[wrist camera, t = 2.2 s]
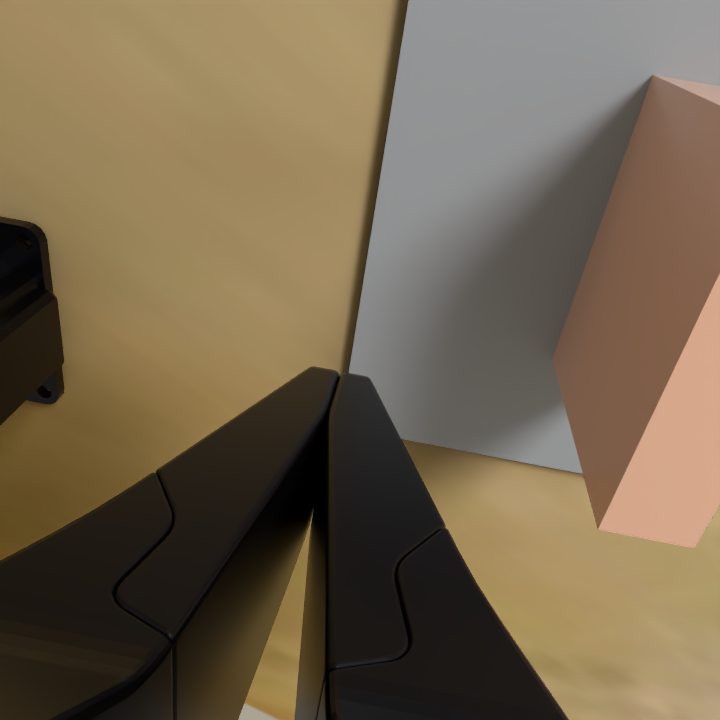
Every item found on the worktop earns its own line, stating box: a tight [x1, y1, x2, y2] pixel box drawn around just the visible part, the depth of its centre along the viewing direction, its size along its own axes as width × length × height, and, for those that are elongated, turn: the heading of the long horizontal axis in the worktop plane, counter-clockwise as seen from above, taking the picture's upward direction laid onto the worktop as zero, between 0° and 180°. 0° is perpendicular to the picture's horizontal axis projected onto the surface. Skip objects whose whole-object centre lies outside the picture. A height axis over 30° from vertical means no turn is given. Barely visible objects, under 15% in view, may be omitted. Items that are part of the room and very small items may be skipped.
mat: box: [349, 0, 720, 474], centre depth 17 cm, size 18×16×1 cm
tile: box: [552, 75, 720, 548], centre depth 14 cm, size 2×8×7 cm, turn 171°
